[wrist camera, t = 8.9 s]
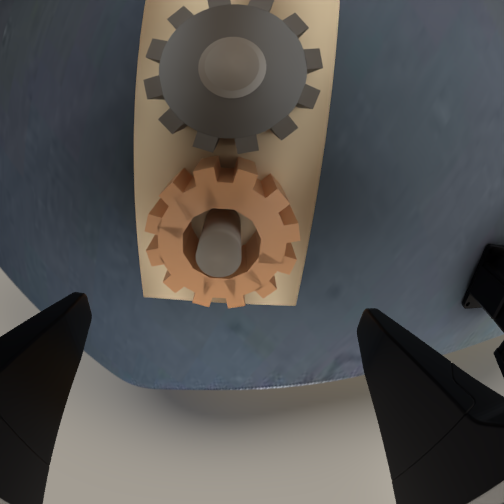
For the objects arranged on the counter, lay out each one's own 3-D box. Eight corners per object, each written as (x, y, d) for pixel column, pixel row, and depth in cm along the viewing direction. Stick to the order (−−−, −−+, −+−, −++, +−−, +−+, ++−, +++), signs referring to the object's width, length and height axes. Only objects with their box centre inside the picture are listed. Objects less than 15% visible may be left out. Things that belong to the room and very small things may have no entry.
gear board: (331, 5, 12) (368, -27, 7) (292, 292, 21) (306, 349, 16) (155, -7, 11) (123, -42, 6) (149, 284, 20) (127, 338, 15)
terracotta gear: (298, 162, 15) (310, 175, 13) (280, 280, 19) (287, 310, 16) (159, 153, 15) (141, 164, 12) (162, 273, 18) (151, 302, 15)
